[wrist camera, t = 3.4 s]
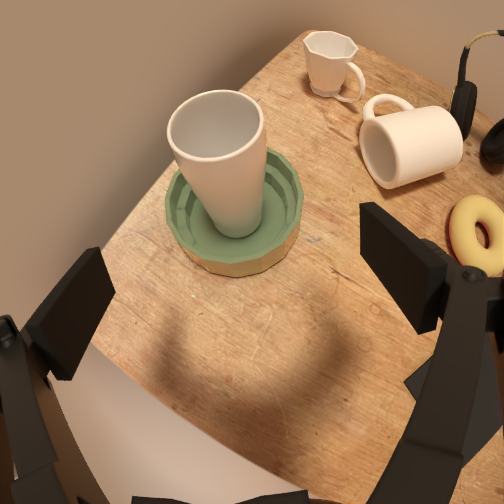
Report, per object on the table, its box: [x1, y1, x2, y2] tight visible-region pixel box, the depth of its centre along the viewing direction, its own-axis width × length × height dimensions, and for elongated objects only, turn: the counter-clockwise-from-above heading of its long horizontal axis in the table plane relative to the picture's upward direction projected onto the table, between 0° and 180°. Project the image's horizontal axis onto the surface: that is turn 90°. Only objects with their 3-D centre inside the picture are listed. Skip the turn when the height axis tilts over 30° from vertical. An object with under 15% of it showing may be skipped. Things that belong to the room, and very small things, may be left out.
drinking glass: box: [167, 90, 267, 238], centre depth 27 cm, size 7×7×15 cm
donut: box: [449, 195, 504, 277], centre depth 31 cm, size 10×5×9 cm
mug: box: [359, 94, 463, 189], centre depth 33 cm, size 12×10×8 cm
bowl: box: [165, 147, 304, 277], centre depth 32 cm, size 13×13×5 cm
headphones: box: [449, 30, 504, 164], centre depth 27 cm, size 9×15×20 cm, turn 54°
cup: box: [303, 31, 365, 103], centre depth 36 cm, size 7×10×8 cm
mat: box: [404, 333, 503, 469], centre depth 26 cm, size 14×14×1 cm
